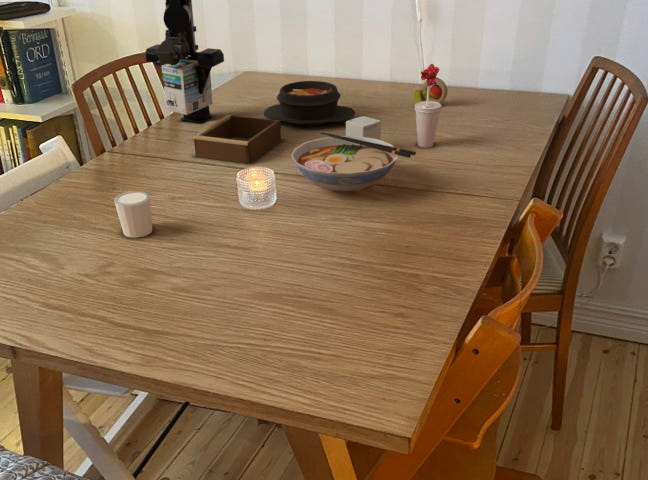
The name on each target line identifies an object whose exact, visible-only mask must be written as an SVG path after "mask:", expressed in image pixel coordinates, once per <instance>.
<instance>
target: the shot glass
mask: <svg viewBox="0 0 648 480" xmlns="http://www.w3.org/2000/svg"><path fill="white" fill-rule="evenodd" d="M113 200H114V202H113V203H114V206H115V209H116V212H117V215H118V219H119V223H120V226H121V229H122V233H123V235H124V236H125V237H126V238H127V237H128V238H131V239H133V238H142V237H146V236H148V235H149V234H151V233H152V232H153V221H152V219H153V217H152V203H151V195H150V194H149V193H148V192H144V191H127V192H124V193H120V194H119V195H117V196H115V197H114V199H113Z"/></svg>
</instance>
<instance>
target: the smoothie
mask: <svg viewBox="0 0 648 480" xmlns="http://www.w3.org/2000/svg"><path fill="white" fill-rule="evenodd" d="M430 89H431V85H430V86H428V88H427V100H425V101H422V102H418V103H416V104H415V103H414V108H413V109H414V111H415V120H416V138H417V146H418V147H420V148H423V149H424V148H432V147H433V146H434V142H435V137H436V133H437V127H438V123H439V117H440V113H441V111H442V103H441V104H440V103H438V102H433V101H429V94H430Z"/></svg>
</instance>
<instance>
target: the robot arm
mask: <svg viewBox="0 0 648 480" xmlns="http://www.w3.org/2000/svg"><path fill="white" fill-rule="evenodd" d="M164 6H165V10H164V12H163V17H162V18H163V24H164V25H165V27H166V28H167V29H165V33H164V35H165V38H164V40H163V41H162V42H161V43H160V44H158V43H157V44H154V45H152V46H150V47H147V48H146V49H145V52H144V57H145V58H144V59H145V62H147V63H153V64H154V66H156V67H159V68H160V69H161V70H162V65H165V64H171V65H176V64H178V63H179V60H180V59H183V60H195V61H198V64H199V65H198V66H196V67H194V69H195V70H196V72H197V77H198V87H199V93H200V94H203V92H204V89H205V86H206V82H207V79H208V76H209V73H210V74H211V71H212V68H214V67H217V66H218V65H220V64H222V63H224V62H225V56H224V55H225V54H224V52H223V51H222V49H221V48H220V49H219V48H209V47H208V48H206V49H203V50H201V51H198V50H199V45H198V44H197V43H196V42H197V41H196V32H197V26H196V25H195V22H194V21H195V20H194V12H193V10H194V9H193V1H192V0H165V5H164ZM182 115H183V117H180V121H182V122H187V123H188V122H190V123H198V124H201V123H203V122H205V121H206V120H209V118H212V116H213V114H211V112H210V105H209V106H206V107H204V108H202V109H199V110H197V111H195V112H192V113H190V114H188V115H185V114H182Z"/></svg>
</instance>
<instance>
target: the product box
mask: <svg viewBox="0 0 648 480" xmlns="http://www.w3.org/2000/svg"><path fill="white" fill-rule="evenodd" d="M381 127H382V120H380V119H377V118H372V117H369V116H366V115H362V116H358V117H355V118H351V119H348V120H346V121H345V136H361V137H367V138H373V139H379V140H381Z"/></svg>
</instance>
